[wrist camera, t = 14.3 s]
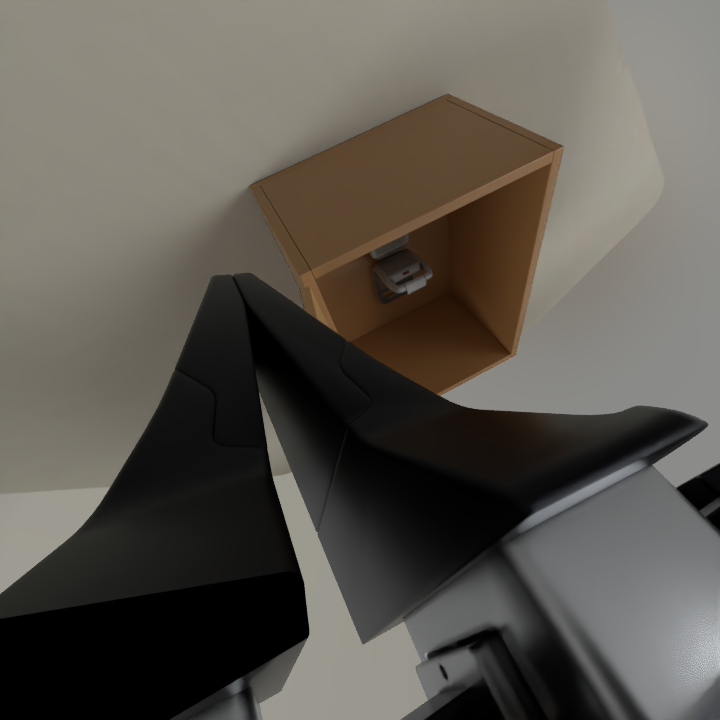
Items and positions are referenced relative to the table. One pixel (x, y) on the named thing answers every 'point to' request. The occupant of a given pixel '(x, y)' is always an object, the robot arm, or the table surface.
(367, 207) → the cardboard box
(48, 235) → the table surface
